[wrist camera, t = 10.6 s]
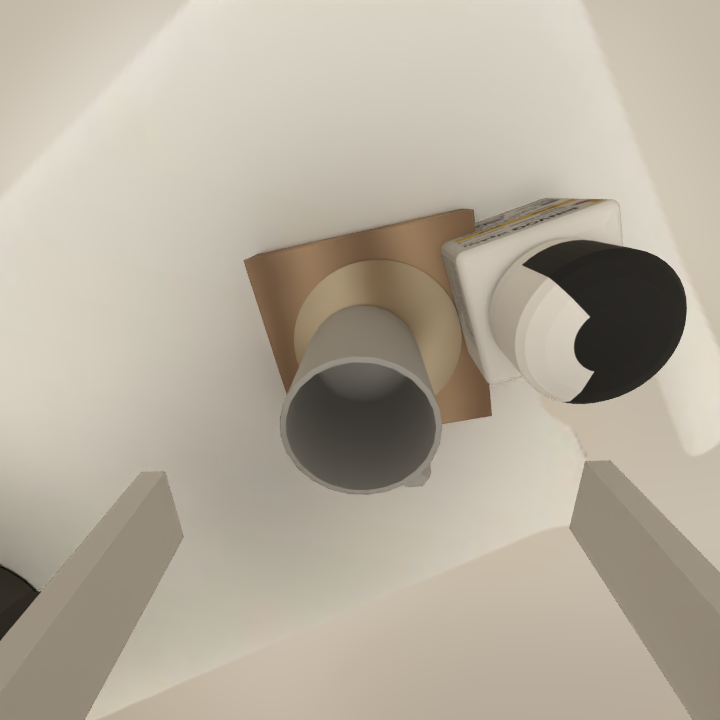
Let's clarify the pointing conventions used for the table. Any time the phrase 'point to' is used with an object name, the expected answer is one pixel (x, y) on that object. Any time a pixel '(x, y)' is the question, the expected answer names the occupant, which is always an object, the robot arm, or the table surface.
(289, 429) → the cup
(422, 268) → the pedestal
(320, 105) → the table surface
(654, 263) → the container
